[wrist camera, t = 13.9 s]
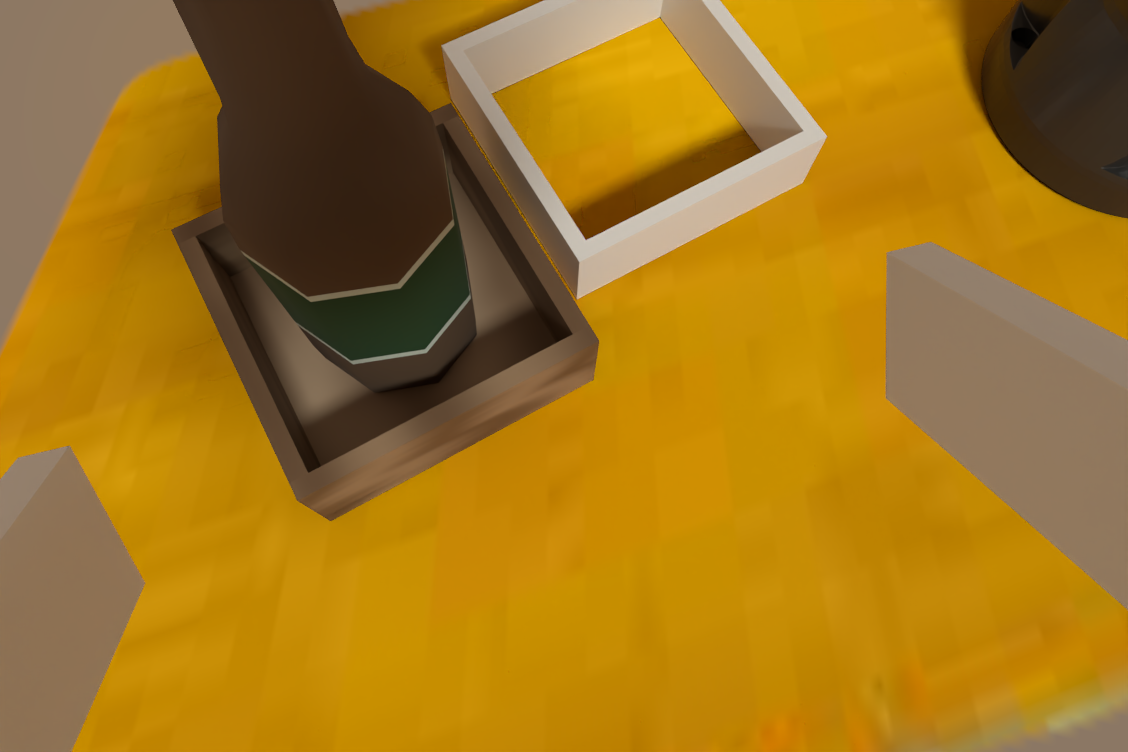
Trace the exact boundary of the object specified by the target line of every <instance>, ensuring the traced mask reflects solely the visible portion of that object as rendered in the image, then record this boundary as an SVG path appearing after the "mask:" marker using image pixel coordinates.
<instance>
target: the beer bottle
mask: <svg viewBox="0 0 1128 752" xmlns="http://www.w3.org/2000/svg"><path fill="white" fill-rule="evenodd" d="M173 2H174V3H175V6H176V8H177V10H178V12H179V14H180V16H181V18H182V20H183V22H184V24H185V26H186V28H187V31H188V32H189V35H190V37H191V39H192V41H193V43H194V45H195V47H196V49H197V51H198V53H199V55H200V57H201V59H202V61H203V64H204V66H205V68H206V70H207V72H208V74H209V76H210V78H211V80H212V82H213V84H214V86H215V88H216V90H217V92H218V94H219V96H220V99H221V102H222V108H221V110H220V112H219V114H218V116H217V122H218V146H219V170H220V190H221V202H222V214H223V221H224V223H225V225H226V226H227V228H228V230H229V232H230V233H231V235H232V237H233V239H234V240H235V242H236V244H237V246H238V247H239V249H240V251H241V252H242V253H243V255H244V256H245V257H246V258H247V260H248V261H249V262H250V264H251V265H252V266H253V268H254V269H255V270H256V272H257V273H258V274H259V275H260V277H261V278H262V279H263V281H264V282H265V283H266V285H267V286H268V287H269V289H270V290H271V291H272V292H273V294H274V295H275V296H276V298H277V299H278V300H279V302H280V303H281V304H282V305H283V307H284V308H285V309H286V311H287V312H288V313H289V315H290V316H291V317H292V319H293V320H294V321H295V322H296V324H297V325H298V326H299V328H300V329H301V330H302V332H303V333H304V334H305V336H306V337H307V338H308V339H309V341H310V342H311V343H312V345H313V346H314V347H315V348H316V349H317V350H318V351H319V352H320V353H321V354H322V355H323V356H324V357H325V358H326V359H328V360H329V361H330V362H332V363H333V364H335V365H336V366H337V367H339V368H340V369H342V370H343V371H344V372H346V373H347V374H349V375H350V376H351V377H353V378H354V379H356V380H357V381H359V382H360V383H361V384H363V385H364V386H366V387H367V388H368V389H370V390H371V391H373V392H374V393H378V392H384V391H391V390H397V389H403V388H409V387H416V386H422V385H428V384H435V383H439V382H440V380H441V379H442V378H443V377H444V375H445V374H446V373H447V372H448V370H449V369H450V368H451V367H452V365H453V364H454V363H455V362H456V360H457V359H458V358H459V357H460V355H461V354H462V353H463V352H464V350H465V349H466V348H467V347H468V345H469V344H470V343H471V342H472V340H473V339H474V338H475V337H476V335H477V329H476V319H475V312H474V305H473V299H472V292H471V285H470V279H469V272H468V265H467V259H466V255H465V250H464V245H463V241H462V236H461V231H460V227H459V222H458V217H457V212H456V208H455V203H454V198H453V194H452V189H451V184H450V180H449V175H448V170H447V166H446V161H445V156H444V151H443V147H442V143H441V141H440V138H439V135H438V132H437V129H436V126H435V123H434V120H433V117H432V115H431V114H430V113H429V112H428V111H427V110H426V109H425V108H424V106H423V105H422V104H421V103H420V102H419V101H418V100H417V99H416V98H415V97H414V96H413V95H412V94H411V93H410V92H409V91H408V90H406V89H405V88H403V87H401V86H400V85H398V84H397V83H395V82H393V81H392V80H390V79H388V78H387V77H385V76H384V75H382V74H380V73H379V72H377V71H376V70H374V69H372V68H371V67H369V66H367V65H366V64H365V63H364V62H363V60H362V58H361V57H360V55H359V53H358V52H357V50H356V48H355V47H354V45H353V44H352V42H351V40H350V39H349V37H348V35H347V32H346V30H345V27H344V25H343V23H342V20H341V18H340V15H339V13H338V11H337V8H336V6H335V4H334V1H333V0H173Z"/></svg>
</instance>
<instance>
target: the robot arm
mask: <svg viewBox="0 0 1128 752" xmlns="http://www.w3.org/2000/svg"><path fill="white" fill-rule="evenodd" d="M982 90H983V96H984V101H985V105H986V108H987V111H988V114H989V116H990V119H991V121H992V123H993V125H994V127H995V129H996V131H997V133H998V134H999V136H1000V138H1001V139H1002V141H1003V142H1004V143H1005V145H1006V146H1007V148H1008V149H1009V150H1010V151H1011V153H1012V154H1013V155H1014V156H1015V157H1016V158H1017V160H1018V161H1019V162H1020V163H1021V164H1022V165H1023V166H1024V167H1025V168H1026V169H1027V170H1028V171H1030V172H1031V173H1032V174H1033V175H1034V176H1035V177H1037V178H1038V179H1039V180H1041V181H1042V182H1043V183H1045V184H1046V185H1047V186H1049V187H1050V188H1052V189H1053V190H1055V191H1056V192H1058V193H1060V194H1062V195H1063V196H1065V197H1067V198H1069V199H1071V200H1073V201H1075V202H1077V203H1079V204H1081V205H1084V206H1086V207H1089V208H1091V209H1094V210H1097V211H1100V212H1103V213H1107V214H1110V215H1114V216H1118V217H1124V218H1128V0H1018V1H1017V2H1016V4H1015V5H1014V7H1013V8H1012V9H1011V11H1010V12H1009V14H1008V15H1007V16H1006V18H1005V19H1004V21H1003V22H1002V23H1001V25H1000V26H999V27H998V29H997V30H996V32H995V33H994V35H993V37H992V38H991V40H990V42H989V44H988V47H987V49H986V52H985V56H984V60H983V66H982ZM886 399H888V400H889V401H890V402H891V403H892V404H893V405H894V406H896V407H897V408H898V409H899V410H900V411H901V412H902V413H904V414H905V415H906V416H907V417H908V418H909V419H911V420H912V421H913V422H914V423H915V424H916V425H917V426H919V427H920V428H921V429H922V430H923V431H924V432H925V433H927V434H928V435H929V436H930V437H931V438H932V439H933V440H935V441H936V442H937V443H938V444H939V445H940V446H941V447H943V448H944V449H945V450H946V451H947V452H948V453H949V454H951V455H952V456H953V457H954V458H955V459H956V460H957V461H959V462H960V463H961V464H962V465H963V466H964V467H965V468H967V469H968V470H969V471H970V472H971V473H972V474H973V475H975V476H976V477H977V478H978V479H979V480H980V481H981V482H983V483H984V484H985V485H986V486H987V487H988V488H989V489H991V490H992V491H993V492H994V493H995V494H996V495H997V496H999V497H1000V498H1001V499H1002V500H1003V501H1004V502H1005V503H1007V504H1008V505H1009V506H1010V507H1011V508H1012V509H1013V510H1015V511H1016V512H1017V513H1018V514H1019V515H1020V516H1021V517H1023V518H1024V519H1025V520H1026V521H1027V522H1028V523H1029V524H1031V525H1032V526H1033V527H1034V528H1035V529H1036V530H1037V531H1039V532H1040V533H1041V534H1042V535H1043V536H1044V537H1045V538H1047V539H1048V540H1049V541H1050V542H1051V543H1052V544H1053V545H1055V546H1056V547H1057V548H1058V549H1059V550H1060V551H1061V552H1063V553H1064V554H1065V555H1066V556H1067V557H1068V558H1069V559H1071V560H1072V561H1073V562H1074V563H1075V564H1076V565H1077V566H1079V567H1080V568H1081V569H1082V570H1083V571H1084V572H1085V573H1087V574H1088V575H1089V576H1090V577H1091V578H1092V579H1093V580H1095V581H1096V582H1097V583H1098V584H1099V585H1100V586H1101V587H1103V588H1104V589H1105V590H1106V591H1107V592H1108V593H1109V594H1111V595H1112V596H1113V597H1114V598H1115V599H1116V600H1117V601H1119V602H1120V603H1121V604H1122V605H1123V606H1124V607H1125V608H1127V609H1128V340H1126V339H1124V338H1122V337H1120V336H1118V335H1116V334H1114V333H1112V332H1110V331H1108V330H1106V329H1104V328H1102V327H1100V326H1098V325H1096V324H1094V323H1092V322H1090V321H1088V320H1086V319H1084V318H1082V317H1080V316H1078V315H1076V314H1074V313H1072V312H1070V311H1068V310H1066V309H1064V308H1062V307H1060V306H1058V305H1056V304H1054V303H1052V302H1050V301H1048V300H1046V299H1044V298H1042V297H1040V296H1038V295H1036V294H1034V293H1032V292H1030V291H1028V290H1026V289H1024V288H1022V287H1020V286H1018V285H1016V284H1014V283H1012V282H1010V281H1008V280H1006V279H1004V278H1002V277H1000V276H998V275H996V274H994V273H992V272H990V271H988V270H986V269H984V268H982V267H980V266H978V265H976V264H974V263H972V262H970V261H968V260H966V259H964V258H962V257H960V256H958V255H956V254H954V253H952V252H950V251H948V250H946V249H944V248H942V247H940V246H938V245H936V244H934V243H932V242H929V243H925V244H921V245H916V246H912V247H908V248H904V249H899V250H895V251H891V252H887V307H886ZM144 584H145V582H144V580H143V579H142V577H141V575H140V573H139V571H138V569H137V568H136V566H135V564H134V562H133V560H132V559H131V557H130V555H129V553H128V551H127V549H126V548H125V546H124V544H123V542H122V540H121V538H120V537H119V535H118V533H117V531H116V529H115V528H114V526H113V524H112V522H111V520H110V518H109V517H108V515H107V513H106V511H105V509H104V507H103V506H102V504H101V502H100V500H99V498H98V497H97V495H96V493H95V491H94V489H93V487H92V486H91V484H90V482H89V480H88V478H87V476H86V475H85V473H84V471H83V469H82V467H81V466H80V464H79V462H78V460H77V458H76V456H75V455H74V453H73V451H72V449H71V447H70V446H66V447H62V448H58V449H54V450H49V451H45V452H41V453H37V454H33V455H28V456H24V457H20V458H18V459H17V460H16V461H15V462H14V463H13V465H12V466H11V467H10V468H9V470H8V471H7V472H6V473H5V474H4V476H3V477H2V478H1V479H0V752H71V751H72V749H73V746H74V744H75V742H76V740H77V737H78V735H79V733H80V730H81V728H82V726H83V724H84V721H85V719H86V717H87V714H88V712H89V710H90V708H91V705H92V703H93V701H94V699H95V696H96V694H97V692H98V689H99V687H100V685H101V683H102V680H103V678H104V676H105V673H106V671H107V669H108V667H109V664H110V662H111V660H112V657H113V655H114V653H115V651H116V648H117V646H118V644H119V641H120V639H121V637H122V635H123V632H124V630H125V628H126V625H127V623H128V621H129V619H130V616H131V614H132V612H133V610H134V607H135V605H136V603H137V600H138V598H139V596H140V594H141V591H142V589H143V587H144Z"/></svg>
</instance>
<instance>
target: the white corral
mask: <svg viewBox="0 0 1128 752" xmlns="http://www.w3.org/2000/svg"><path fill="white" fill-rule="evenodd" d="M659 17H660V18H661V19H662V20H663V22H664V23H665V24H666V26H667V27H668V28H669V30H670V31H671V32H672V34H673V35H674V36H675V38H676V39H677V40H678V42H679V43H680V44H681V46H682V47H683V48H684V50H685V51H686V52H687V54H688V55H689V56H690V58H691V59H692V60H693V62H694V63H695V64H696V66H697V67H698V68H699V70H700V71H701V72H702V74H703V75H704V76H705V78H706V79H707V80H708V82H709V83H710V84H711V85H712V87H713V88H714V89H715V91H716V92H717V93H718V95H719V96H720V97H721V99H722V100H723V101H724V103H725V104H726V105H727V107H728V108H729V109H730V111H731V112H732V113H733V115H734V116H735V117H736V119H737V120H738V121H739V123H740V124H741V125H742V127H743V128H744V129H745V131H746V132H747V133H748V135H749V136H750V137H751V139H752V140H753V141H754V143H755V144H756V145H757V147H758V148H759V149H760V150H761V153H759V154H757V155H755V156H753V157H751V158H749V159H747V160H745V161H743V162H741V163H739V164H737V165H735V166H733V167H731V168H729V169H727V170H725V171H723V172H721V173H719V174H717V175H715V176H713V177H711V178H709V179H707V180H705V181H703V182H701V183H699V184H697V185H695V186H693V187H691V188H689V189H687V190H685V191H683V192H681V193H679V194H677V195H675V196H673V197H671V198H669V199H667V200H665V201H663V202H661V203H659V204H657V205H655V206H653V207H651V208H649V209H647V210H645V211H643V212H641V213H639V214H637V215H635V216H633V217H631V218H629V219H627V220H625V221H623V222H621V223H620V224H618V225H616V226H614V227H612V228H610V229H608V230H606V231H604V232H602V233H600V234H598V235H596V236H594V237H592V238H590V239H588V240H585V238H584V237H583V235H582V234H581V232H580V230H579V229H578V227H577V226H576V224H575V223H574V221H573V220H572V218H571V216H570V215H569V213H568V212H567V210H566V209H565V207H564V206H563V204H562V203H561V201H560V199H559V198H558V196H557V195H556V193H555V192H554V190H553V189H552V187H551V186H550V184H549V182H548V181H547V179H546V178H545V176H544V175H543V173H542V172H541V170H540V169H539V167H538V165H537V164H536V162H535V161H534V159H533V158H532V156H531V155H530V153H529V152H528V150H527V148H526V147H525V145H524V144H523V142H522V141H521V139H520V138H519V136H518V135H517V133H516V131H515V130H514V128H513V127H512V125H511V124H510V122H509V121H508V119H507V118H506V116H505V114H504V113H503V111H502V110H501V108H500V107H499V105H498V104H497V102H496V101H495V99H494V97H493V96H492V93H494V92H496V91H499V90H501V89H503V88H505V87H507V86H510V85H512V84H514V83H516V82H518V81H521V80H523V79H525V78H527V77H529V76H532V75H534V74H536V73H538V72H540V71H543V70H545V69H547V68H549V67H551V66H554V65H556V64H558V63H560V62H562V61H565V60H567V59H569V58H571V57H573V56H576V55H578V54H580V53H582V52H584V51H586V50H589V49H591V48H593V47H595V46H597V45H600V44H602V43H604V42H606V41H608V40H611V39H613V38H615V37H617V36H619V35H622V34H624V33H626V32H628V31H630V30H633V29H635V28H637V27H639V26H641V25H644V24H646V23H648V22H650V21H652V20H655V19H657V18H659ZM441 47H442V52H443V58H444V64H445V69H446V75H447V80H448V86H449V91H450V97H451V100H452V101H453V103H454V104H455V106H456V108H457V109H458V111H459V112H460V114H461V116H462V117H463V119H464V120H465V122H466V123H467V125H468V127H469V128H470V130H471V131H472V133H473V135H474V136H475V138H476V139H477V141H478V143H479V144H480V146H481V147H482V149H483V151H484V152H485V154H486V155H487V157H488V159H489V160H490V162H491V163H492V165H493V167H494V168H495V170H496V171H497V173H498V175H499V176H500V178H501V179H502V181H503V183H504V184H505V186H506V187H507V189H508V191H509V192H510V194H511V195H512V197H513V198H514V200H515V202H516V203H517V205H518V206H519V208H520V210H521V211H522V213H523V214H524V216H525V218H526V219H527V221H528V222H529V224H530V226H531V227H532V229H533V230H534V232H535V234H536V235H537V237H538V238H539V240H540V242H541V243H542V245H543V246H544V248H545V250H546V251H547V253H548V254H549V256H550V258H551V259H552V261H553V262H554V264H555V266H556V267H557V269H558V270H559V272H560V274H561V275H562V277H563V278H564V280H565V281H566V283H567V285H568V286H569V288H570V289H571V291H572V293H573V294H574V296H575V297H576V299H579V298H581V297H583V296H584V295H586V294H588V293H590V292H592V291H594V290H596V289H598V288H600V287H602V286H604V285H606V284H608V283H610V282H612V281H613V280H615V279H617V278H619V277H621V276H623V275H625V274H627V273H629V272H631V271H633V270H635V269H637V268H639V267H641V266H643V265H644V264H646V263H648V262H650V261H652V260H654V259H656V258H658V257H660V256H662V255H664V254H666V253H668V252H670V251H672V250H674V249H675V248H677V247H679V246H681V245H683V244H685V243H687V242H689V241H691V240H693V239H695V238H697V237H699V236H701V235H703V234H705V233H706V232H708V231H710V230H712V229H714V228H716V227H718V226H720V225H722V224H724V223H726V222H728V221H730V220H732V219H734V218H735V217H737V216H739V215H741V214H743V213H745V212H747V211H749V210H751V209H753V208H755V207H757V206H759V205H761V204H763V203H765V202H766V201H768V200H770V199H772V198H774V197H776V196H778V195H780V194H782V193H784V192H786V191H788V190H790V189H792V188H794V187H796V186H797V185H799V184H801V183H803V181H804V179H805V177H806V175H807V173H808V171H809V170H810V168H811V166H812V164H813V162H814V160H815V158H816V156H817V155H818V153H819V151H820V149H821V147H822V145H823V143H824V141H825V139H826V138H827V136H826V134H825V133H824V132H823V131H822V129H821V128H820V127H819V126H818V124H817V123H816V122H815V120H814V119H813V118H812V117H811V115H810V114H809V113H808V112H807V110H806V109H805V108H804V107H803V105H802V104H801V103H800V101H799V100H798V99H797V98H796V96H795V95H794V94H793V93H792V91H791V90H790V89H789V88H788V86H787V85H786V84H785V82H784V81H783V80H782V79H781V77H780V76H779V75H778V74H777V72H776V71H775V70H774V69H773V67H772V66H771V65H770V63H769V62H768V61H767V60H766V58H765V57H764V56H763V55H762V53H761V52H760V51H759V50H758V48H757V47H756V46H755V44H754V43H753V42H752V41H751V39H750V38H749V37H748V36H747V34H746V33H745V32H744V31H743V29H742V28H741V27H740V25H739V24H738V23H737V22H736V20H735V19H734V18H733V17H732V15H731V14H730V13H729V12H728V10H727V9H726V8H725V6H724V5H723V4H722V3H721V1H720V0H544V1H542V2H539V3H537V4H535V5H532V6H530V7H528V8H526V9H523V10H521V11H519V12H516V13H514V14H512V15H510V16H507V17H505V18H503V19H500V20H498V21H496V22H494V23H491V24H489V25H487V26H485V27H482V28H480V29H478V30H475V31H473V32H471V33H469V34H466V35H464V36H462V37H459V38H457V39H455V40H453V41H450V42H448V43H446V44H443V45H441Z"/></svg>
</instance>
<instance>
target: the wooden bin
mask: <svg viewBox="0 0 1128 752" xmlns="http://www.w3.org/2000/svg"><path fill="white" fill-rule="evenodd" d="M430 114H431V115H432V117H433V120H434V123H435V126H436V129H437V132H438V135H439V138H440V141H441V143H442V147H443V151H444V156H445V161H446V166H447V170H448V175H449V180H450V184H451V189H452V194H453V198H454V203H455V208H456V212H457V217H458V222H459V227H460V231H461V236H462V241H463V245H464V250H465V255H466V259H467V265H468V272H469V279H470V285H471V292H472V299H473V305H474V312H475V319H476V329H477V335H476V337H475V338H474V339H473V340H472V342H471V343H470V344H469V345H468V347H467V348H466V349H465V350H464V352H463V353H462V354H461V355H460V357H459V358H458V359H457V360H456V362H455V363H454V364H453V365H452V367H451V368H450V369H449V370H448V372H447V373H446V374H445V375H444V377H443V378H442V379H441V380H440V382H439V383H435V384H428V385H422V386H416V387H409V388H403V389H397V390H391V391H384V392H378V393H374V392H373V391H371V390H370V389H368V388H367V387H366V386H364V385H363V384H361V383H360V382H359V381H357V380H356V379H354V378H353V377H351V376H350V375H349V374H347V373H346V372H344V371H343V370H342V369H340V368H339V367H337V366H336V365H335V364H333V363H332V362H330V361H329V360H328V359H326V358H325V357H324V356H323V355H322V354H321V353H320V352H319V351H318V350H317V349H316V348H315V347H314V346H313V345H312V343H311V342H310V341H309V339H308V338H307V337H306V336H305V334H304V333H303V332H302V330H301V329H300V328H299V326H298V325H297V324H296V322H295V321H294V320H293V319H292V317H291V316H290V315H289V313H288V312H287V311H286V309H285V308H284V307H283V305H282V304H281V303H280V302H279V300H278V299H277V298H276V296H275V295H274V294H273V292H272V291H271V290H270V289H269V287H268V286H267V285H266V283H265V282H264V281H263V279H262V278H261V277H260V275H259V274H258V273H257V272H256V270H255V269H254V268H253V266H252V265H251V264H250V262H249V261H248V260H247V258H246V257H245V256H244V255H243V253H242V252H241V251H240V249H239V247H238V246H237V244H236V242H235V240H234V239H233V237H232V235H231V233H230V232H229V230H228V228H227V226H226V225H225V223H224V221H223V214H222V207H220V208H218V209H216V210H214V211H212V212H209V213H207V214H205V215H203V216H201V217H198V218H196V219H194V220H192V221H189V222H187V223H185V224H183V225H181V226H178V227H176V228H174V229H172V230H171V231H172V233H173V235H174V237H175V239H176V241H177V243H178V246H179V248H180V250H181V252H182V254H183V256H184V258H185V261H186V263H187V265H188V267H189V269H190V271H191V273H192V276H193V278H194V280H195V282H196V284H197V286H198V288H199V291H200V293H201V295H202V297H203V299H204V301H205V303H206V306H207V308H208V310H209V312H210V314H211V316H212V318H213V321H214V323H215V325H216V327H217V329H218V331H219V333H220V336H221V338H222V340H223V342H224V344H225V346H226V348H227V351H228V353H229V355H230V357H231V359H232V361H233V363H234V366H235V368H236V370H237V372H238V374H239V376H240V378H241V381H242V383H243V385H244V387H245V389H246V391H247V393H248V396H249V398H250V400H251V402H252V404H253V406H254V408H255V411H256V413H257V415H258V417H259V419H260V421H261V424H262V426H263V428H264V430H265V432H266V434H267V436H268V439H269V441H270V443H271V445H272V447H273V449H274V451H275V454H276V456H277V458H278V460H279V462H280V464H281V466H282V469H283V471H284V473H285V475H286V477H287V479H288V481H289V484H290V486H291V488H292V490H293V492H294V494H295V496H296V499H297V501H299V502H300V503H302V504H304V505H305V506H307V507H309V508H310V509H312V510H313V511H315V512H317V513H318V514H320V515H322V516H323V517H325V518H326V519H328V520H330V521H332V520H334V519H335V518H337V517H339V516H341V515H343V514H345V513H347V512H348V511H350V510H352V509H354V508H356V507H358V506H360V505H361V504H363V503H365V502H367V501H369V500H371V499H373V498H374V497H376V496H378V495H380V494H382V493H384V492H386V491H387V490H389V489H391V488H393V487H395V486H397V485H399V484H400V483H402V482H404V481H406V480H408V479H410V478H412V477H413V476H415V475H417V474H419V473H421V472H423V471H425V470H426V469H428V468H430V467H432V466H434V465H436V464H438V463H439V462H441V461H443V460H445V459H447V458H449V457H451V456H452V455H454V454H456V453H458V452H460V451H462V450H464V449H465V448H467V447H469V446H471V445H473V444H475V443H477V442H478V441H480V440H482V439H484V438H486V437H488V436H490V435H491V434H493V433H495V432H497V431H499V430H501V429H503V428H504V427H506V426H508V425H510V424H512V423H514V422H516V421H517V420H519V419H521V418H523V417H525V416H527V415H529V414H530V413H532V412H534V411H536V410H538V409H540V408H542V407H543V406H545V405H547V404H549V403H551V402H553V401H555V400H556V399H558V398H560V397H562V396H564V395H566V394H568V393H569V392H571V391H573V390H575V389H577V388H579V387H581V386H582V385H584V384H586V383H588V382H590V381H592V380H593V378H594V372H595V365H596V359H597V352H598V345H599V340H598V338H597V337H596V335H595V333H594V332H593V330H592V329H591V327H590V325H589V324H588V322H587V321H586V319H585V317H584V316H583V314H582V313H581V311H580V309H579V308H578V306H577V305H576V303H575V301H574V300H573V298H572V297H571V295H570V293H569V292H568V290H567V289H566V287H565V285H564V284H563V282H562V281H561V279H560V277H559V276H558V274H557V273H556V271H555V269H554V268H553V266H552V265H551V263H550V261H549V260H548V258H547V257H546V255H545V253H544V252H543V250H542V249H541V247H540V245H539V244H538V242H537V241H536V239H535V237H534V236H533V234H532V233H531V231H530V229H529V228H528V226H527V225H526V223H525V221H524V220H523V218H522V217H521V215H520V213H519V212H518V210H517V209H516V207H515V205H514V204H513V202H512V201H511V199H510V197H509V196H508V194H507V193H506V191H505V189H504V188H503V186H502V185H501V183H500V181H499V180H498V178H497V177H496V175H495V173H494V172H493V170H492V169H491V167H490V165H489V164H488V162H487V161H486V159H485V157H484V156H483V154H482V153H481V151H480V149H479V148H478V146H477V145H476V143H475V141H474V140H473V138H472V137H471V135H470V133H469V132H468V130H467V129H466V127H465V125H464V124H463V122H462V121H461V119H460V117H459V116H458V114H457V113H456V111H455V109H454V108H453V106H452V105H451V103H450V104H448V105H445V106H443V107H441V108H439V109H437V110H434V111H432V112H430Z"/></svg>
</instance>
